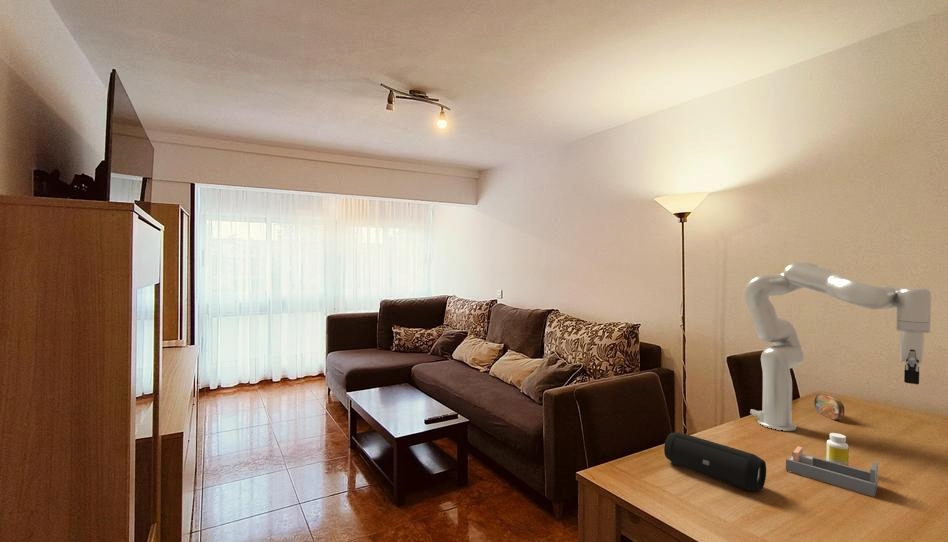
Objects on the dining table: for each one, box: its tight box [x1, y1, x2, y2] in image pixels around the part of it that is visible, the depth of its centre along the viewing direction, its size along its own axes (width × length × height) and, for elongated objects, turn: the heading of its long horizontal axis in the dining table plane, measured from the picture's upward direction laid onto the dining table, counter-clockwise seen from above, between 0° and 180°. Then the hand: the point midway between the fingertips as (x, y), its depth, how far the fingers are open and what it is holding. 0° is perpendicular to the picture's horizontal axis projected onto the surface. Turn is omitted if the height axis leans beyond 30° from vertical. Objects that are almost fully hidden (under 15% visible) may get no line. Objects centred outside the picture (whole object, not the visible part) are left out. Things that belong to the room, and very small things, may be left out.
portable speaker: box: [663, 432, 767, 492], centre depth 128 cm, size 26×10×10 cm, turn 41°
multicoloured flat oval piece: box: [814, 393, 845, 421], centre depth 181 cm, size 15×3×8 cm, turn 172°
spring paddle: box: [792, 445, 814, 466], centre depth 132 cm, size 4×6×5 cm, turn 132°
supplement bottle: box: [825, 432, 850, 466], centre depth 135 cm, size 5×5×10 cm
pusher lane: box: [785, 451, 879, 498], centre depth 127 cm, size 20×9×7 cm, turn 42°
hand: (911, 380), depth 136 cm, fingers open, 9 cm apart
